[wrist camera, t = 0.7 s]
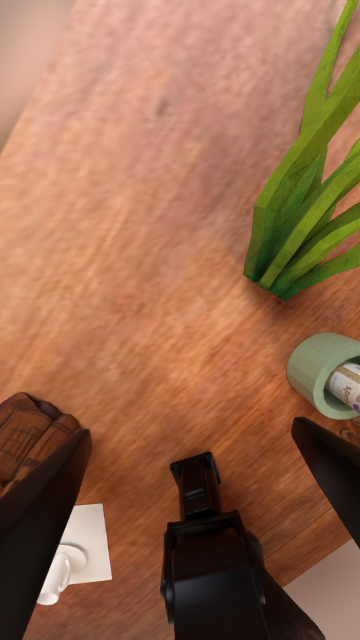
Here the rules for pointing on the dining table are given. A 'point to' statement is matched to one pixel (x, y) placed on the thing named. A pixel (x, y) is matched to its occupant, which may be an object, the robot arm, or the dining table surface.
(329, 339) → the jar
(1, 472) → the wooden figurine
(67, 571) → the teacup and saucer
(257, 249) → the decorative plant
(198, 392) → the dining table surface
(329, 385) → the sprinkles bottle
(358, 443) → the lion figurine
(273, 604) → the jug
